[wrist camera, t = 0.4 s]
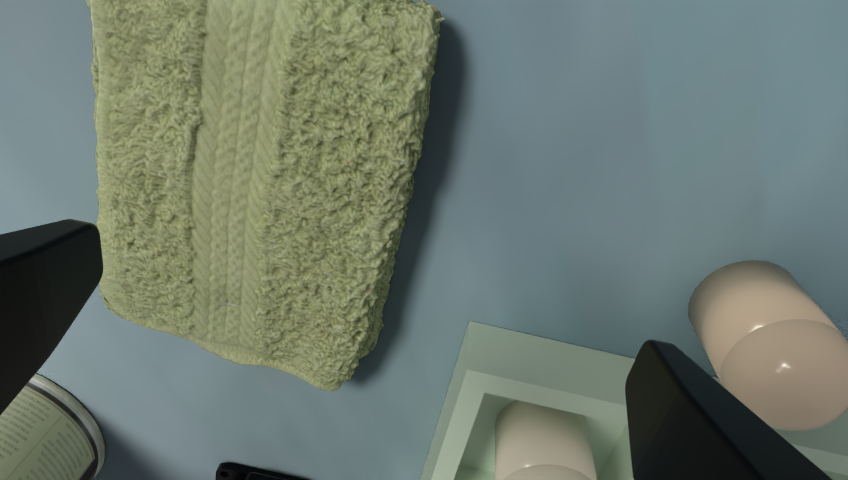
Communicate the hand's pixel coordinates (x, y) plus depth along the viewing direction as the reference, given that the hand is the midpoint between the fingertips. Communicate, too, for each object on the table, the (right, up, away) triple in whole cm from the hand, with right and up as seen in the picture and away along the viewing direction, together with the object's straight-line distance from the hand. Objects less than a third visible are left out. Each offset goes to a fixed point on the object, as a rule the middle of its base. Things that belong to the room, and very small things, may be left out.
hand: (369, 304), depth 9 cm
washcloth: (-6, +4, +15) cm, 17 cm away
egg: (+7, -8, +19) cm, 21 cm away
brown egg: (+15, -2, +15) cm, 21 cm away
